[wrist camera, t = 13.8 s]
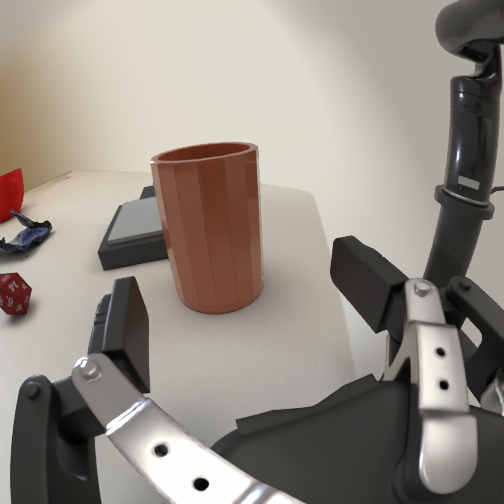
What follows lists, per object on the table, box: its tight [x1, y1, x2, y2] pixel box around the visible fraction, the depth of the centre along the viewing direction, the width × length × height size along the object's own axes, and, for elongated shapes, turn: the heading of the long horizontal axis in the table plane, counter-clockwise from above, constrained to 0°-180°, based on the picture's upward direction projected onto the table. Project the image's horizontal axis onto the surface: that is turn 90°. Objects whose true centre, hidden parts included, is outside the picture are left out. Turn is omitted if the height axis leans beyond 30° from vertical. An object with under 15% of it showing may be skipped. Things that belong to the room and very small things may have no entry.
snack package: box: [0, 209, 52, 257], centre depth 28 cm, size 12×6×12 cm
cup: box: [150, 142, 264, 314], centre depth 18 cm, size 6×6×10 cm
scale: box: [98, 197, 169, 270], centre depth 29 cm, size 13×13×2 cm
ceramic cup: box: [0, 168, 24, 222], centre depth 42 cm, size 13×17×10 cm
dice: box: [0, 273, 32, 315], centre depth 17 cm, size 4×4×4 cm
